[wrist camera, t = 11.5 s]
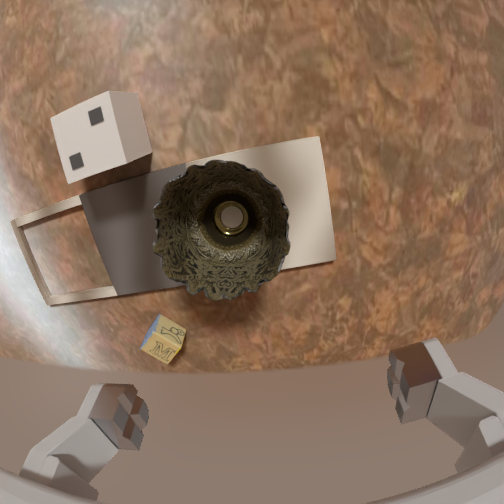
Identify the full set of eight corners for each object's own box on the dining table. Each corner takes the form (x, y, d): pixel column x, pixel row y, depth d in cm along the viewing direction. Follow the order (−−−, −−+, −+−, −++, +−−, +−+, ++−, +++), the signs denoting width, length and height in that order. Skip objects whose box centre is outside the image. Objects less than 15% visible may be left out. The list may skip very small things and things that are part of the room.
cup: (278, 267, 25) (286, 305, 17) (184, 263, 25) (152, 297, 17) (283, 169, 23) (295, 162, 15) (185, 166, 23) (151, 159, 15)
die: (99, 169, 24) (67, 184, 19) (85, 113, 22) (49, 118, 17) (152, 152, 23) (126, 163, 18) (137, 92, 21) (108, 90, 16)
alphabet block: (160, 311, 29) (151, 331, 27) (187, 328, 30) (181, 349, 27) (147, 330, 31) (138, 349, 28) (173, 346, 31) (166, 366, 28)
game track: (49, 302, 30) (47, 305, 29) (13, 219, 26) (10, 221, 25) (335, 256, 26) (336, 259, 26) (317, 136, 22) (319, 136, 22)
